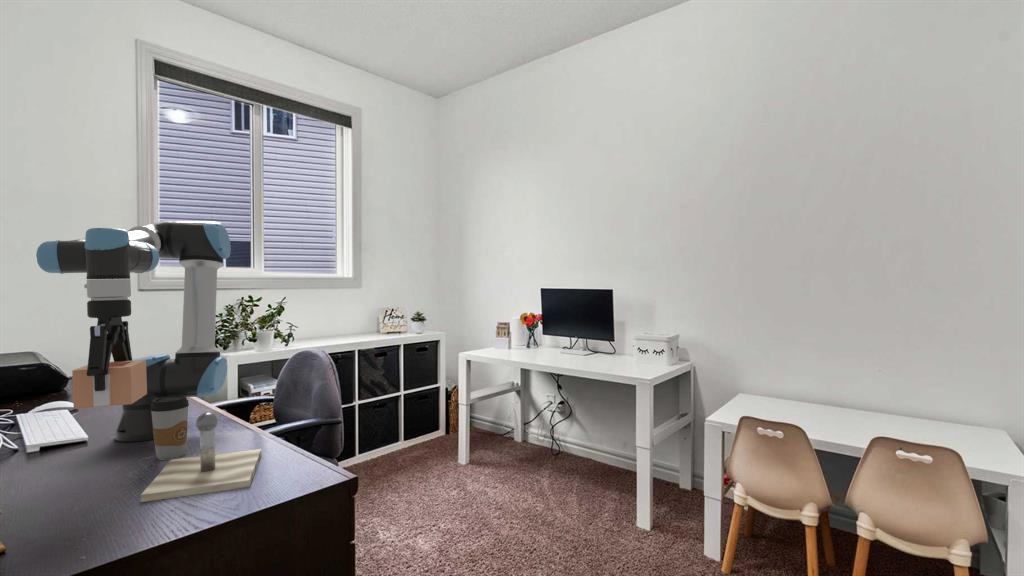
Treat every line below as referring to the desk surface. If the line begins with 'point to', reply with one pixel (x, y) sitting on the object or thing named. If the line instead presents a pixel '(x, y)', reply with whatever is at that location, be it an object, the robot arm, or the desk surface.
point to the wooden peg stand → (204, 468)
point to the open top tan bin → (112, 384)
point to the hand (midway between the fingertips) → (112, 400)
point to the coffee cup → (170, 426)
